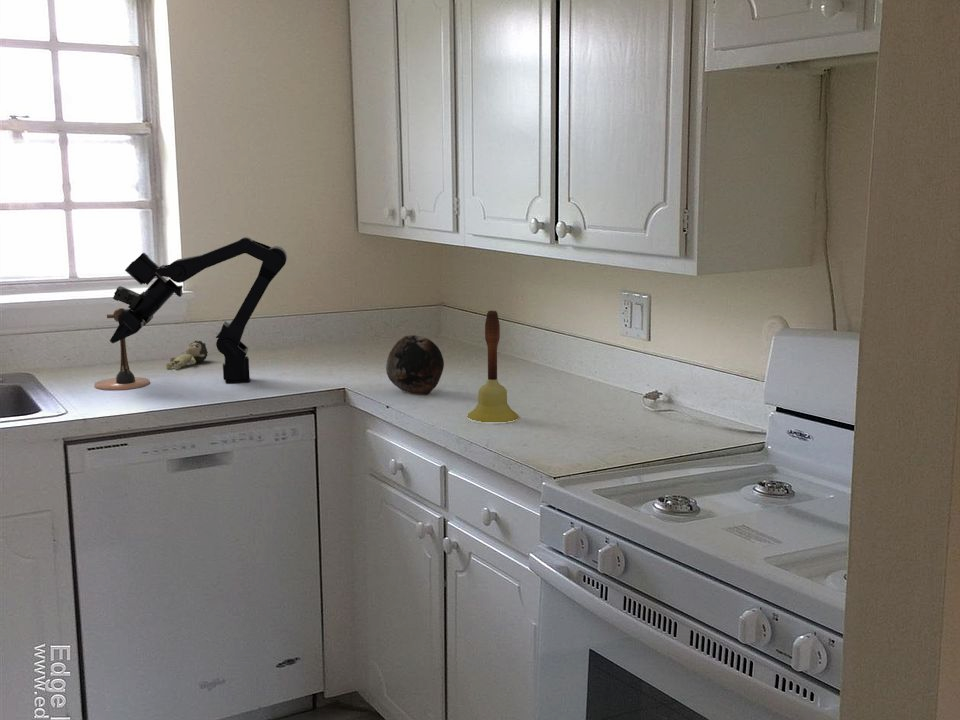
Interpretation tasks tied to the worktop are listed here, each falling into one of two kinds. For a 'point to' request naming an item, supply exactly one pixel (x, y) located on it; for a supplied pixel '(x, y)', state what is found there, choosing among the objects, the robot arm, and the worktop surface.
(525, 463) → the worktop surface
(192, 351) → the figurine
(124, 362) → the wooden tabletop sculpture
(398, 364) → the decorative stone
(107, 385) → the coaster
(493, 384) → the handbell
